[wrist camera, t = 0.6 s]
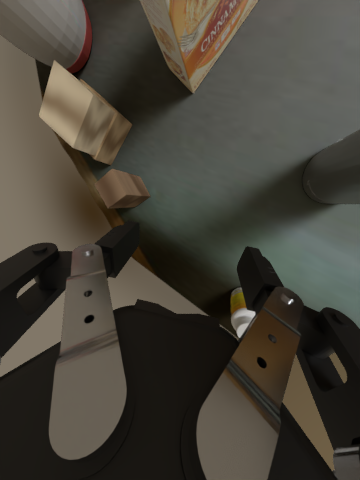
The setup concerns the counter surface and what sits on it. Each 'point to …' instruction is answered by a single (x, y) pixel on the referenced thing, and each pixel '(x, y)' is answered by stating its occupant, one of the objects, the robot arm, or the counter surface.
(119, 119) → the block bottom
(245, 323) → the supplement bottle
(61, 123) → the block top
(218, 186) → the counter surface
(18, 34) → the citrus juicer
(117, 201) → the walnut post
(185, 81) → the coffeecake box
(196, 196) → the counter surface
